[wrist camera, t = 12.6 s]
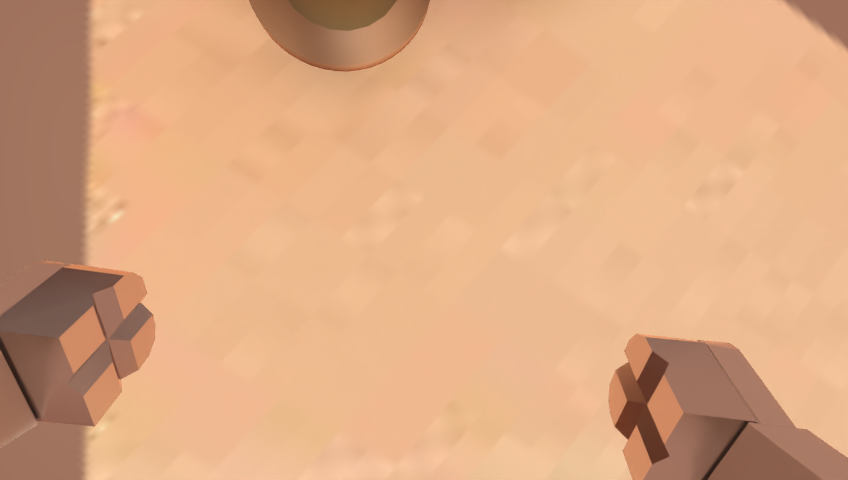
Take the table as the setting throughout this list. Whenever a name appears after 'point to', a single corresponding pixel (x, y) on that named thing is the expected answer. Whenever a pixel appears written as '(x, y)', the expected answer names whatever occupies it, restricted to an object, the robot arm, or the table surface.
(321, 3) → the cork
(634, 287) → the table surface
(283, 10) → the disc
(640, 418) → the robot arm
